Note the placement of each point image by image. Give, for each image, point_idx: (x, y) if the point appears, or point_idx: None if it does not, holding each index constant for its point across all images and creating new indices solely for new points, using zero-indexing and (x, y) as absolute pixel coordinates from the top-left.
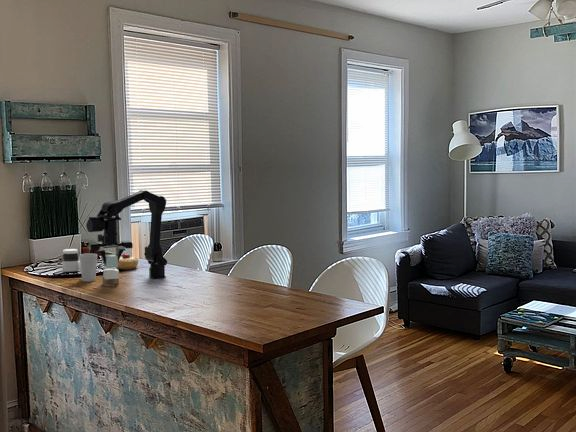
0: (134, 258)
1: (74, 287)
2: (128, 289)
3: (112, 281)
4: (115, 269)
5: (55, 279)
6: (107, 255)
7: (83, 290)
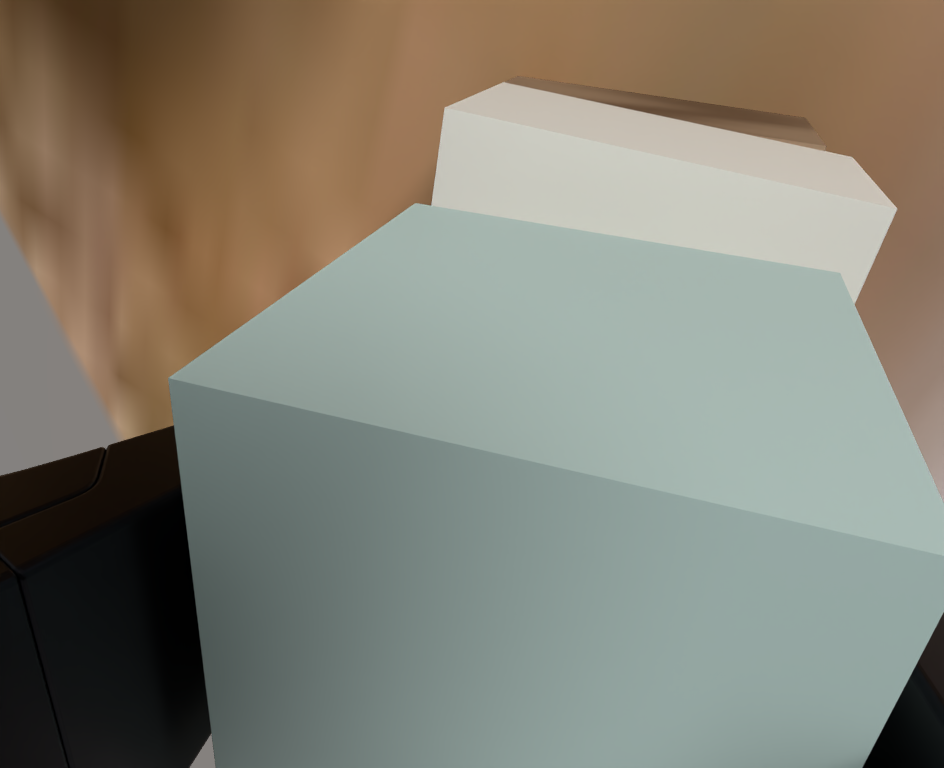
0: None
1: (38, 85)
2: None
3: None
4: None
5: None
6: (347, 554)
7: (152, 353)
